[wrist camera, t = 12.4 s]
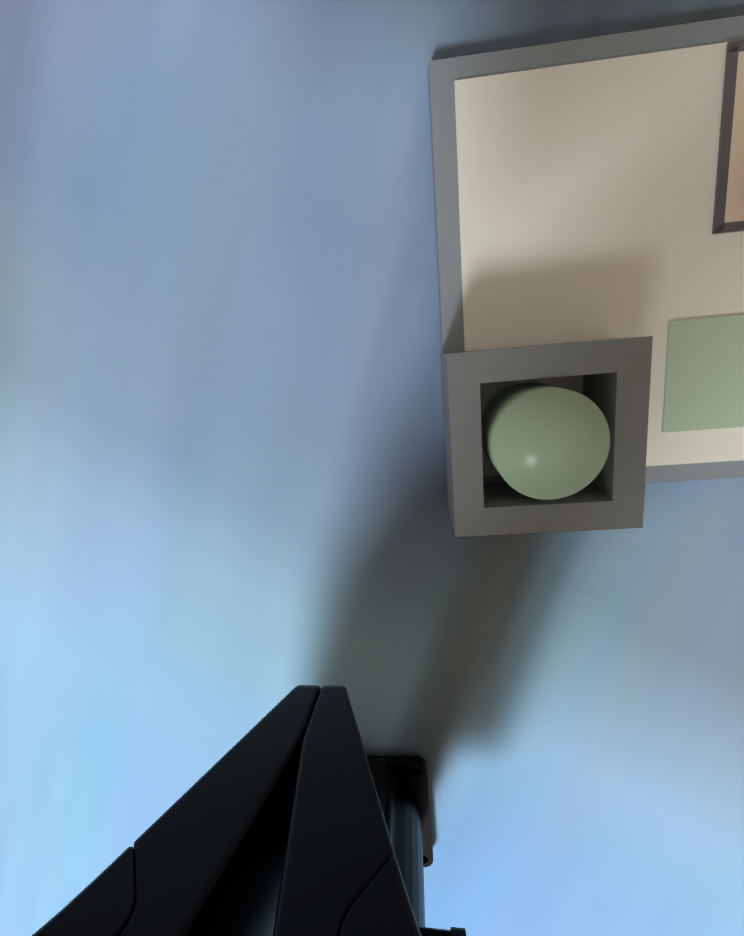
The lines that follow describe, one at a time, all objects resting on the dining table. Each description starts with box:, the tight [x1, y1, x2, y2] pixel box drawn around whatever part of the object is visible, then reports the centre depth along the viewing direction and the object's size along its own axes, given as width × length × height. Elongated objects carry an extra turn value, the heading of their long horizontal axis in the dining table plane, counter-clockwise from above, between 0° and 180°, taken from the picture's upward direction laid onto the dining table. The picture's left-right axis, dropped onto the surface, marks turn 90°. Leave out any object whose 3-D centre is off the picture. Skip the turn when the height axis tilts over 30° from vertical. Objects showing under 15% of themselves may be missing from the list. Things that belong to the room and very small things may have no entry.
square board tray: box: [428, 15, 744, 537], centre depth 15 cm, size 16×16×4 cm
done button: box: [481, 382, 610, 500], centre depth 16 cm, size 4×4×3 cm
